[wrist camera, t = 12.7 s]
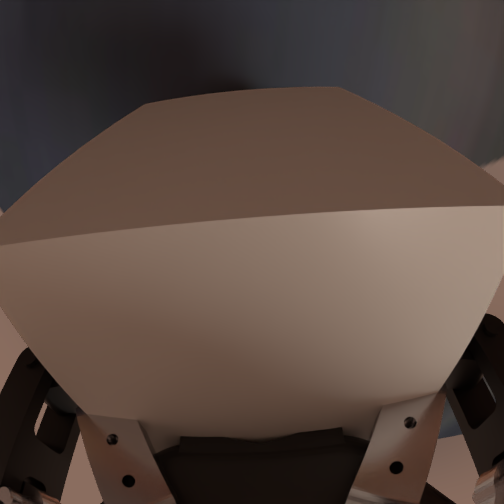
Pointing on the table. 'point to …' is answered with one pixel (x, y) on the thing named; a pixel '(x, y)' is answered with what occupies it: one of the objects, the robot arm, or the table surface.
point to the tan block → (253, 264)
